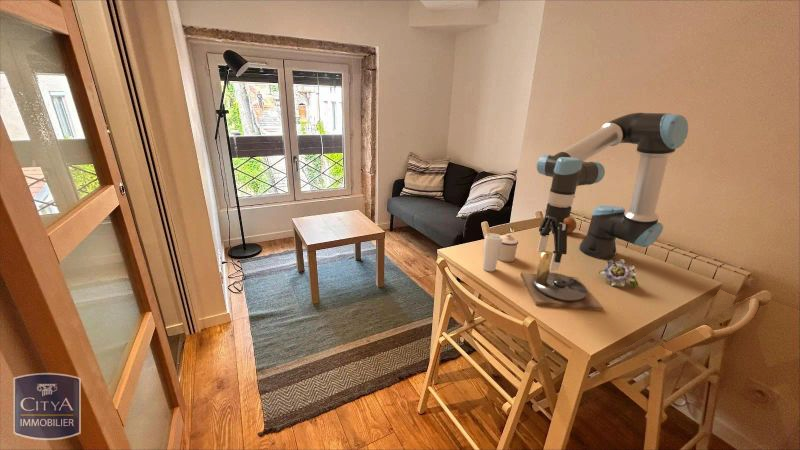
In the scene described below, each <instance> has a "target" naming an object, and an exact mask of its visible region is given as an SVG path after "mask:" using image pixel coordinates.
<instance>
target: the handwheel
mask: <svg viewBox="0 0 800 450" xmlns="http://www.w3.org/2000/svg"><path fill="white" fill-rule="evenodd" d="M552 256H553V251H548V250H545V251H542V252H540V256H539V262H538V267H537V270H536V273H535V274H536V275H535V276H534V278H533V285H534V287H535V288H536V289H537V290H538V291H539V292H541V293H542V294H544V295H546V296H548V297H550V298H553V299H556V300H560V301H565V302H578V301H581V300H583V299H584V298H585V297H586V294H587V290H586V288H587V287H586V286H585V285H584V284H583V285H584V286H585V287H586V288H585V287H584V286H583V285H582V284H581V283H580V282H578V281H577V280H575V279H573V278H571V277H572V276H569V275H565V274H561V273H558V272H551V270H550V264H551V260H552ZM568 276H569V277H568Z"/></svg>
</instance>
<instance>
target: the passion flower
mask: <svg viewBox="0 0 800 450" xmlns="http://www.w3.org/2000/svg"><path fill="white" fill-rule="evenodd" d="M606 262H607V263H606V264H604V266H605V268H604V269H603V270H600V271H598V274H600V275H605V277H606V278H605V282H607V283H608V282H609V283H610V286H611V287H614V286H615V285H616V284H617V283H618V284H619V285H620V287H624V286H625V285H626V283H627V282H628V281H629V282H630V284H631V287H632V289H635V288H636V287H637V286H638V285H639V283H638V280H637V278H636V277H635V276H636V275H637V274H636V271H635V265H626V264H625V259H624V258H621V259H619V260H616V261H613V260H612V259H610V260H609V259H606Z"/></svg>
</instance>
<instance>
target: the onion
mask: <svg viewBox="0 0 800 450" xmlns="http://www.w3.org/2000/svg"><path fill="white" fill-rule="evenodd" d="M564 224H568V229H567V234H570V233H572V232H575V230H576V229H577V221H576V219H575V218H574V217H573V216H571V215H570V216H569V217H568V218H565V219H564Z"/></svg>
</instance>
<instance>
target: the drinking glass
mask: <svg viewBox="0 0 800 450" xmlns="http://www.w3.org/2000/svg"><path fill="white" fill-rule="evenodd" d="M502 236H503V235H500V234H498V233H493V232H492V233H490V232H489V233H486V234H485V237H484V241H483V242H484V245H483V260H482V261H483V262H482V268H483V270H484V271H486V272H495V270H496V268H497V263H498V261H499V260H498V257H499V253H500V249H501V245H502Z"/></svg>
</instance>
